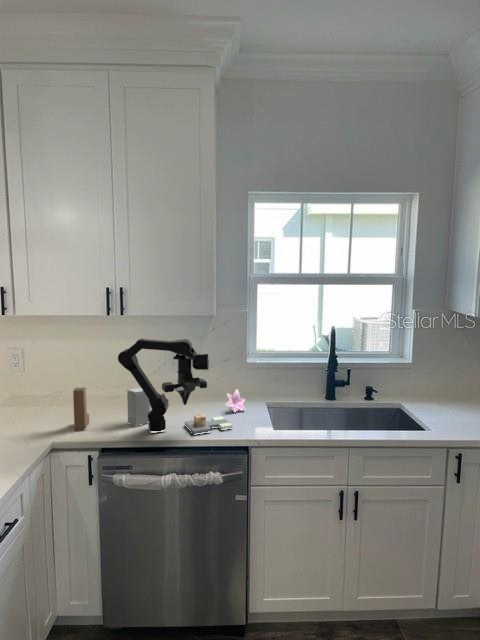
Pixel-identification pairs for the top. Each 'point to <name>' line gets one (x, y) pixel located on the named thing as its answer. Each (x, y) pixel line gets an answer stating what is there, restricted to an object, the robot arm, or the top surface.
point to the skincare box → (137, 406)
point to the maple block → (200, 420)
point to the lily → (235, 401)
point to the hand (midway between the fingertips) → (184, 404)
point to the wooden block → (80, 409)
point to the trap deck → (208, 425)
